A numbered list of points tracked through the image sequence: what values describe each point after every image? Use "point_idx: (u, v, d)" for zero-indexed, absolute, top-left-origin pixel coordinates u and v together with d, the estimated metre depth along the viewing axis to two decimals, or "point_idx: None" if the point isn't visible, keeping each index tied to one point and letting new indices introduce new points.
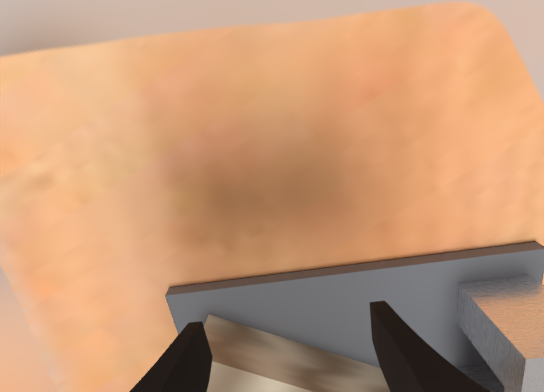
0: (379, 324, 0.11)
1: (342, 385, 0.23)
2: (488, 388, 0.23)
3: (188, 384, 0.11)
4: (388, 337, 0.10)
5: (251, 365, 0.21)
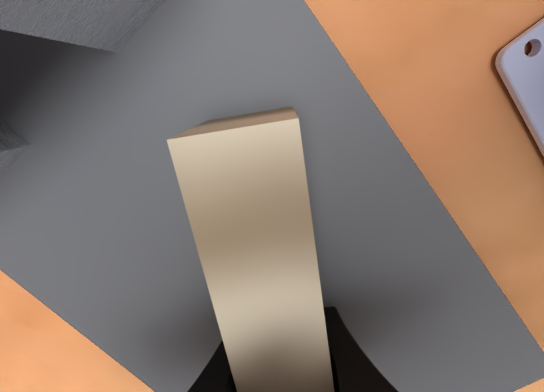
0: None
1: None
2: None
3: None
4: (328, 343, 0.10)
5: None
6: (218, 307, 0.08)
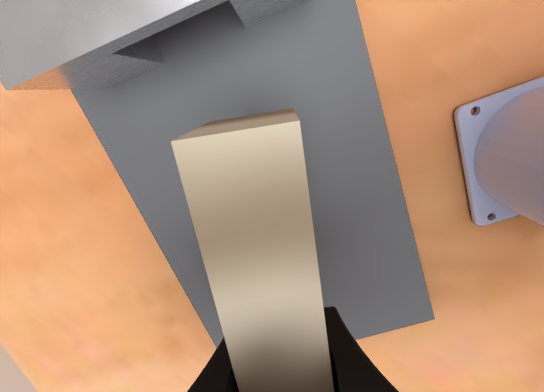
0: None
1: None
2: None
3: None
4: (328, 343, 0.10)
5: None
6: (220, 305, 0.09)
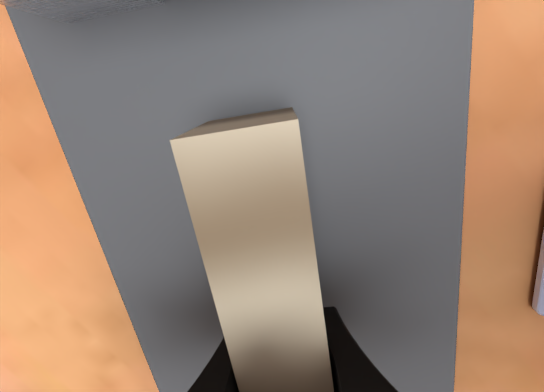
0: None
1: None
2: None
3: None
4: (328, 343, 0.10)
5: None
6: (219, 304, 0.09)
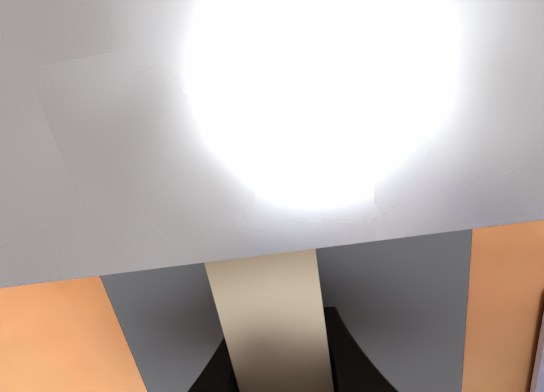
0: None
1: None
2: None
3: None
4: (328, 343, 0.10)
5: None
6: (220, 304, 0.09)
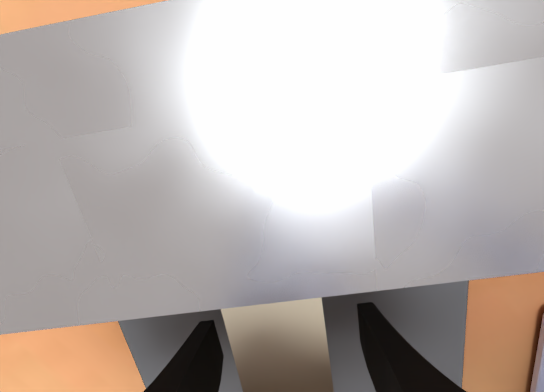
0: (365, 325, 0.11)
1: None
2: None
3: (201, 382, 0.11)
4: (373, 339, 0.10)
5: None
6: None
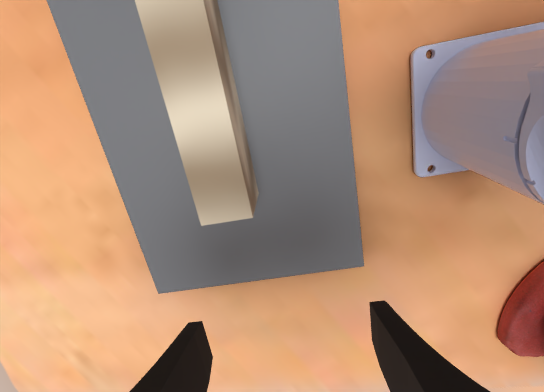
0: (379, 324, 0.11)
1: None
2: None
3: (188, 383, 0.11)
4: (388, 337, 0.10)
5: None
6: None
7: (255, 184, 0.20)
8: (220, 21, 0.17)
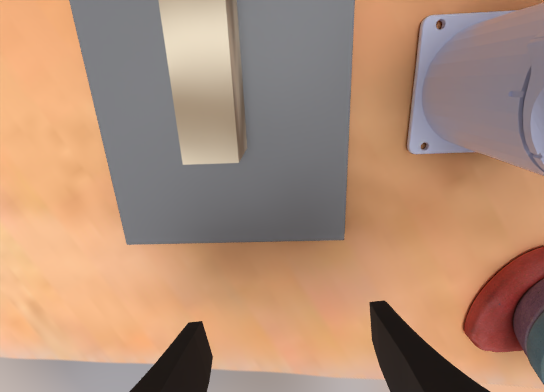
0: (379, 324, 0.11)
1: None
2: None
3: (188, 384, 0.11)
4: (388, 337, 0.10)
5: None
6: None
7: (245, 136, 0.19)
8: None
